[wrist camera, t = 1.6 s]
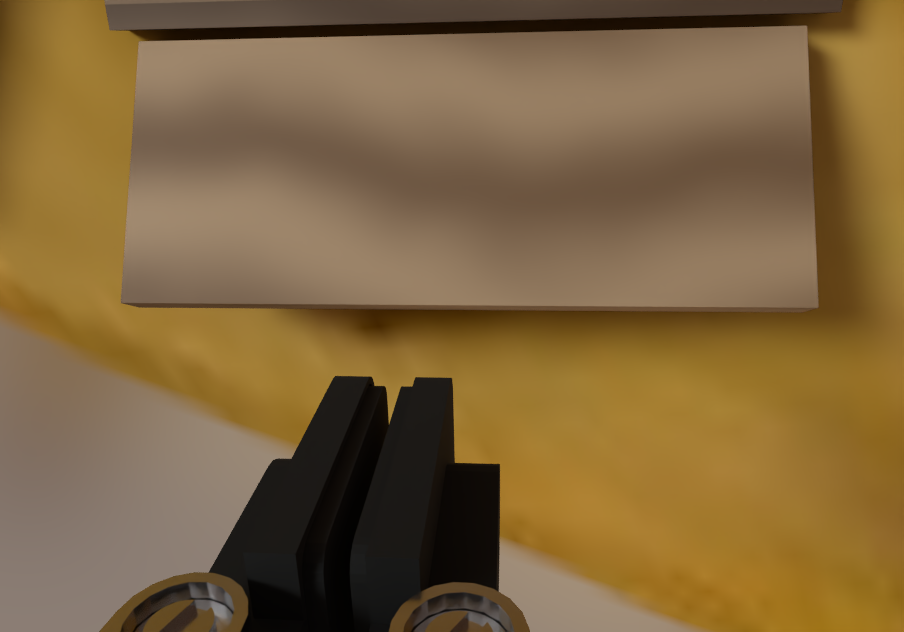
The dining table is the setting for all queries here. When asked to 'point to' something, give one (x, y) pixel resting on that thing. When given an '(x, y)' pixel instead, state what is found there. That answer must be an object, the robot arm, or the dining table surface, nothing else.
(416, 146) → the plank
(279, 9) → the laid row
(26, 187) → the dining table surface
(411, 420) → the robot arm
